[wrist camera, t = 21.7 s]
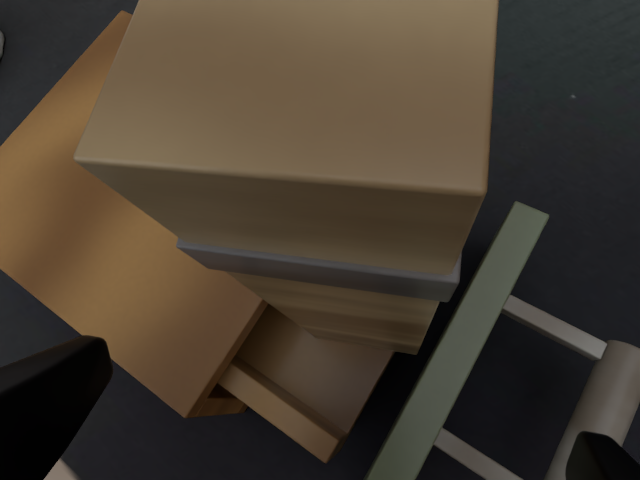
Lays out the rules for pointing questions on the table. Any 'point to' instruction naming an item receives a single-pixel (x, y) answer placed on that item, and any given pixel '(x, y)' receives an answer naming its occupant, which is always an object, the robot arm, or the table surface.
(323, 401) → the drawer
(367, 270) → the block
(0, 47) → the figurine
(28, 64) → the table surface
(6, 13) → the table surface
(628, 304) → the table surface
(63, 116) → the cabinet
